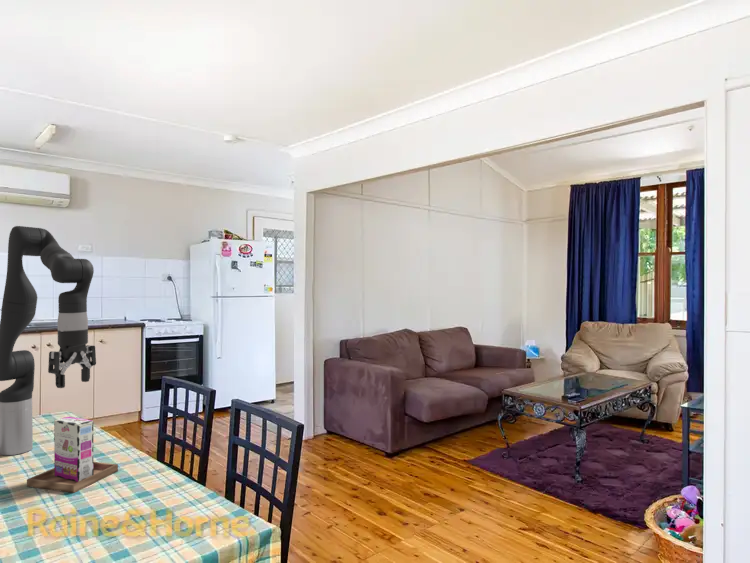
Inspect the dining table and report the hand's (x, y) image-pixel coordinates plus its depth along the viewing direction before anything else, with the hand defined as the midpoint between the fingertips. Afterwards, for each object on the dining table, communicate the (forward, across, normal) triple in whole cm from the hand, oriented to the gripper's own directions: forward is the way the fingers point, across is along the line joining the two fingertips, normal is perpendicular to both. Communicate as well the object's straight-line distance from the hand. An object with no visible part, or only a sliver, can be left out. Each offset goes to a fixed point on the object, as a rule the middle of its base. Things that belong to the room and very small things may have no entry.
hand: (73, 384), depth 149 cm
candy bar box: (+27, 0, 0) cm, 27 cm away
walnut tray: (+27, 0, 0) cm, 27 cm away
